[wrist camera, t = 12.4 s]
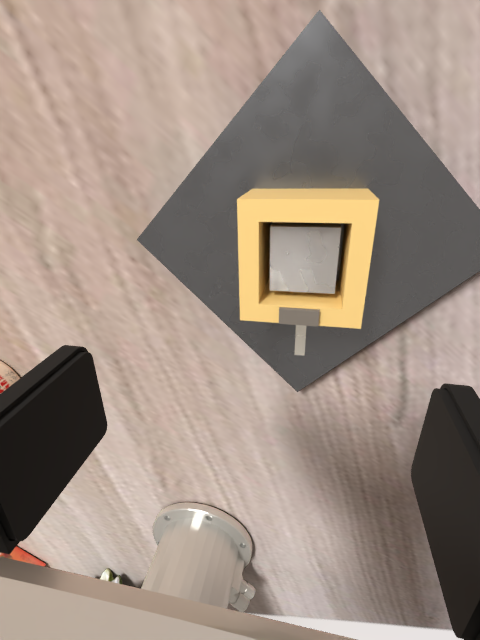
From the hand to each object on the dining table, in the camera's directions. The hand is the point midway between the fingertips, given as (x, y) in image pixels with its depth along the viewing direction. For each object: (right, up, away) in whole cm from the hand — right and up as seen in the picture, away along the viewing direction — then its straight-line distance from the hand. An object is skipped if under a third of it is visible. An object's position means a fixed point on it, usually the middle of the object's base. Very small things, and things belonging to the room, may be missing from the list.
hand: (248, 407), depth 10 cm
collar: (+4, +8, +15) cm, 17 cm away
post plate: (+5, +8, +16) cm, 19 cm away
